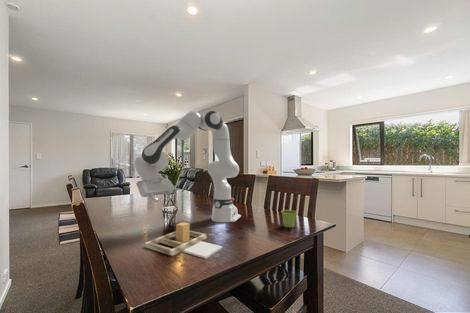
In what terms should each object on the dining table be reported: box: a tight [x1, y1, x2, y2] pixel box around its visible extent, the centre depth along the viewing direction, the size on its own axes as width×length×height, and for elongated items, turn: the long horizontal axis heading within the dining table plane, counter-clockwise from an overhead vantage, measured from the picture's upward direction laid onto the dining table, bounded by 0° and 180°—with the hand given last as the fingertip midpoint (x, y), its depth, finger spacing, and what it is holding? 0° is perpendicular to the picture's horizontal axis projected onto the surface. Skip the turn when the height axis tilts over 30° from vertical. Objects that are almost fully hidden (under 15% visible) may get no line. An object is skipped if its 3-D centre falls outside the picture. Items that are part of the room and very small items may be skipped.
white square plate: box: [182, 240, 223, 260], centre depth 93 cm, size 12×12×1 cm
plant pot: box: [280, 209, 298, 229], centre depth 127 cm, size 9×9×9 cm
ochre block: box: [175, 221, 191, 243], centre depth 105 cm, size 4×4×8 cm
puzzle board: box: [144, 230, 208, 256], centre depth 101 cm, size 23×17×2 cm
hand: (164, 199), depth 111 cm, fingers open, 8 cm apart
